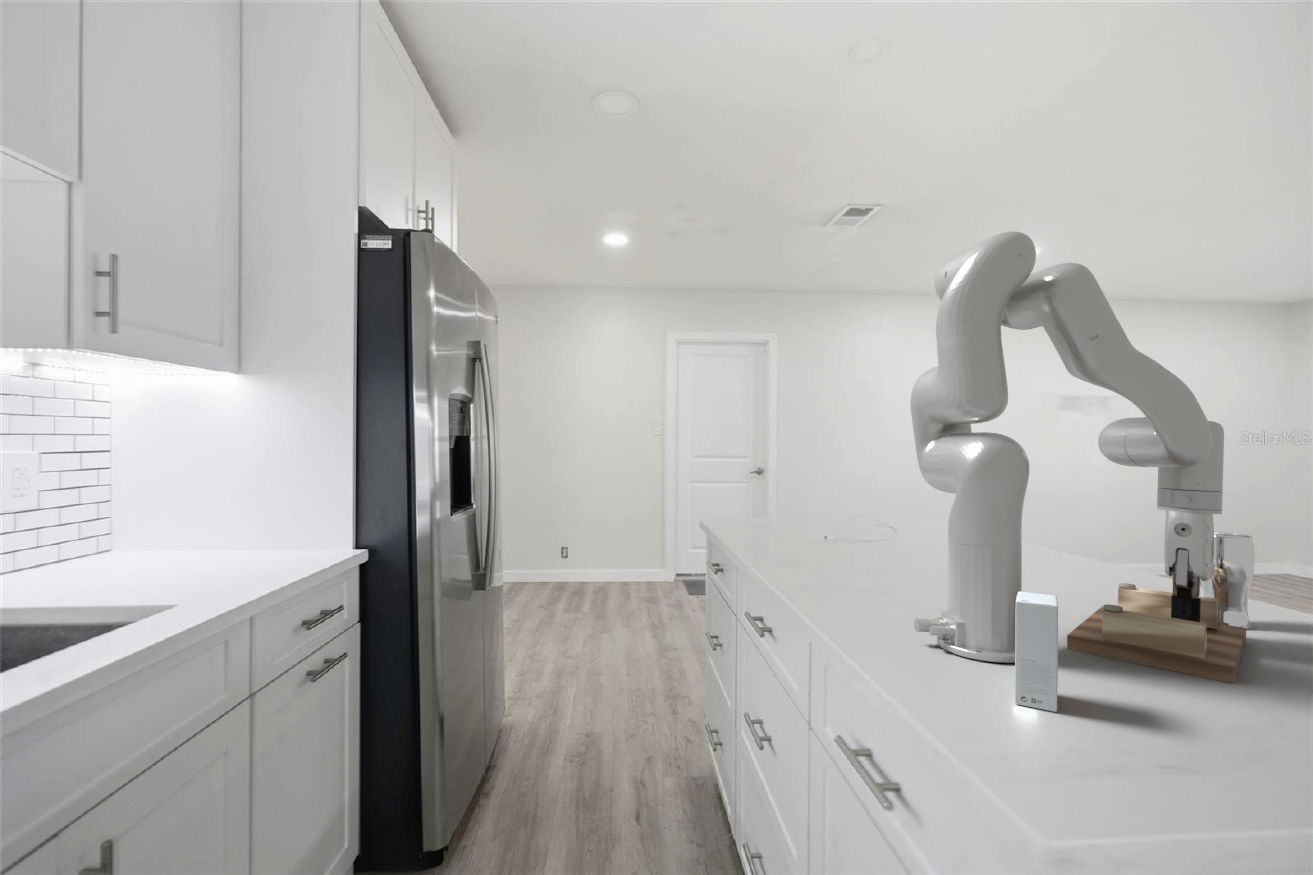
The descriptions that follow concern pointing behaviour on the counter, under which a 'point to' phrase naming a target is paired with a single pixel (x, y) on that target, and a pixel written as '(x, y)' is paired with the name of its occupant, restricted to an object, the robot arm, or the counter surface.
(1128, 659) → the stool frame
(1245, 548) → the beer glass
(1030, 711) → the counter surface
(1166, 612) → the hinged leg
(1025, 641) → the skincare box
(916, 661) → the counter surface
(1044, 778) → the counter surface
